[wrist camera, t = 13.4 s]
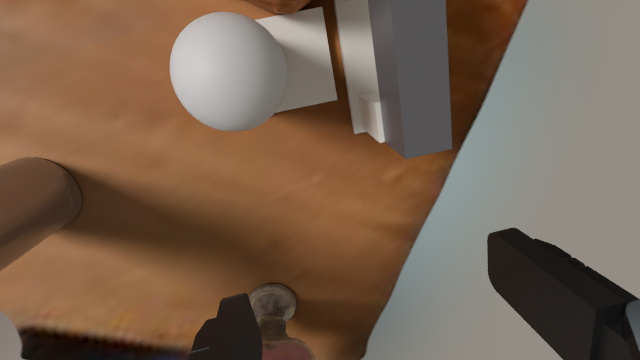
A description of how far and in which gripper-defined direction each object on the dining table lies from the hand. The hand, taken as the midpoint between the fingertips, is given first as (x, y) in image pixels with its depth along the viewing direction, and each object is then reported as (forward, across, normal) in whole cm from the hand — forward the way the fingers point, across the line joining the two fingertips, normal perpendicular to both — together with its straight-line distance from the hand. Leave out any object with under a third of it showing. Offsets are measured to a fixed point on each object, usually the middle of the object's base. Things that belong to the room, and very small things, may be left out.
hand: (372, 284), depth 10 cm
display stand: (+31, -2, -7) cm, 32 cm away
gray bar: (+22, -9, -7) cm, 25 cm away
